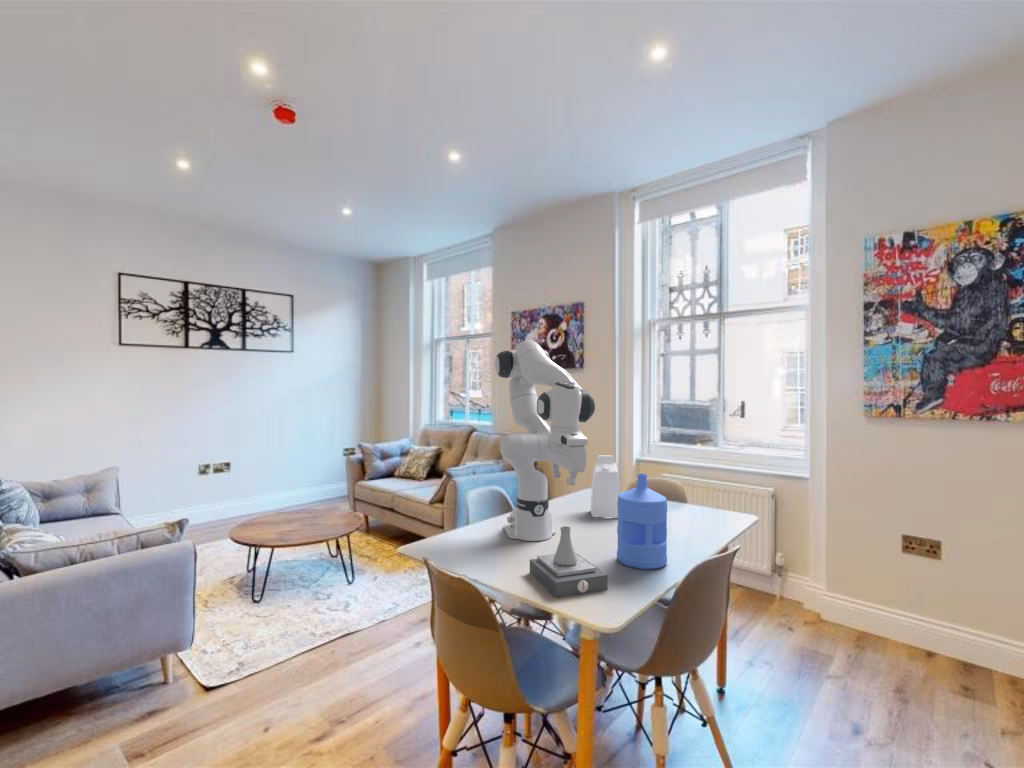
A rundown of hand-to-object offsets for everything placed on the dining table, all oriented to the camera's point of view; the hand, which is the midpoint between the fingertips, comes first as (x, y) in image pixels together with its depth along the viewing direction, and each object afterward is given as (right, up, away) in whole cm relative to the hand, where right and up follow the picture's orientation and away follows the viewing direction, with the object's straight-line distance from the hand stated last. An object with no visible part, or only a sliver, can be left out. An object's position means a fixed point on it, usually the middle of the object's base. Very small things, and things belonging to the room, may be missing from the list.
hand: (563, 481), depth 146 cm
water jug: (+26, -28, +10) cm, 40 cm away
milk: (+25, -28, +66) cm, 77 cm away
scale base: (0, -28, -6) cm, 28 cm away
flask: (0, -23, -5) cm, 23 cm away
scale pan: (0, -24, -5) cm, 24 cm away
